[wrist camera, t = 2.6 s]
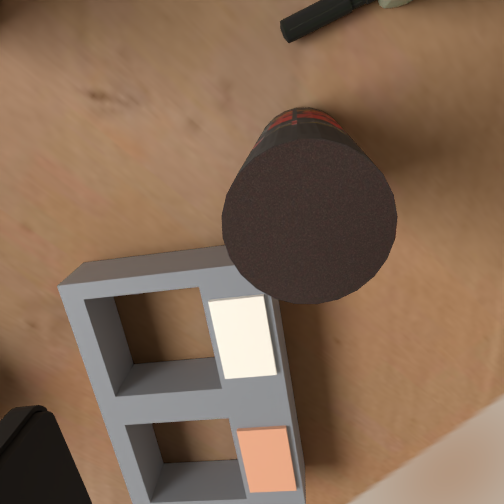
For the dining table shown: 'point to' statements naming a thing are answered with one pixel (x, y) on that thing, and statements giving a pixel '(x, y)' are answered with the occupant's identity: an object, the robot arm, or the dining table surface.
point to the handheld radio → (324, 15)
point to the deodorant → (308, 211)
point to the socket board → (192, 381)
